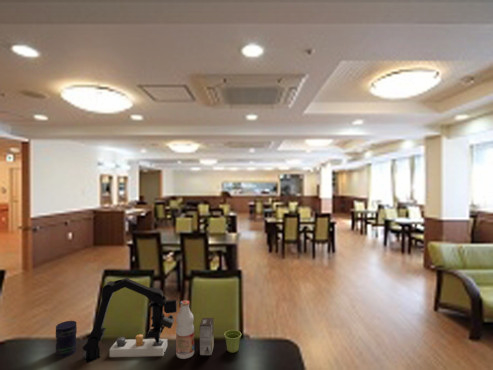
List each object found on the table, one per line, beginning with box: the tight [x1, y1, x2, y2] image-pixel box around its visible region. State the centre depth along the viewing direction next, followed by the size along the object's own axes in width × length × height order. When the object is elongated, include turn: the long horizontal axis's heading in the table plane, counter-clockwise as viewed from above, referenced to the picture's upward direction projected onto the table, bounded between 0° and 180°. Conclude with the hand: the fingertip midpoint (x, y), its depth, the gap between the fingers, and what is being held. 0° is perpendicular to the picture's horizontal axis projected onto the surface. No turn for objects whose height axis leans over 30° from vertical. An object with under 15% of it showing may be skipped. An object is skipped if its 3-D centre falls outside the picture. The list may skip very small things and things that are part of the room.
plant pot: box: [224, 329, 242, 353], centre depth 164 cm, size 9×9×9 cm
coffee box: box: [199, 317, 215, 356], centre depth 163 cm, size 9×6×16 cm
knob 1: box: [115, 336, 126, 347], centre depth 163 cm, size 4×4×3 cm
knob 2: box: [154, 340, 162, 346], centre depth 163 cm, size 4×4×3 cm
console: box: [109, 338, 168, 358], centre depth 163 cm, size 28×10×4 cm, turn 92°
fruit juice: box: [175, 299, 195, 360], centre depth 160 cm, size 9×9×28 cm
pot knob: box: [135, 334, 144, 346], centre depth 163 cm, size 4×4×5 cm
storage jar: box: [55, 320, 78, 358], centre depth 163 cm, size 10×10×15 cm
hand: (157, 342), depth 163 cm, fingers closed, pressing on knob 2
